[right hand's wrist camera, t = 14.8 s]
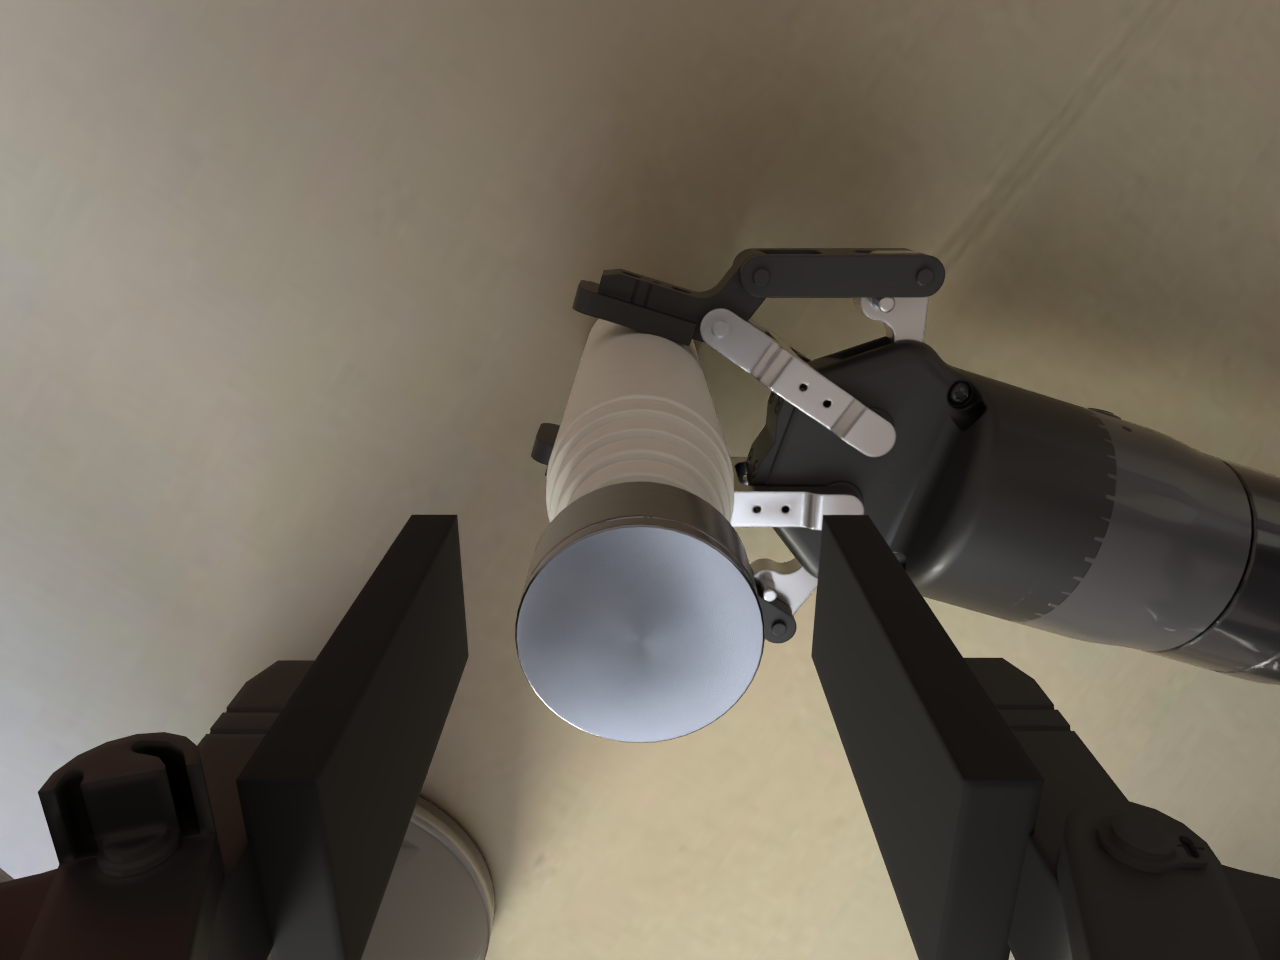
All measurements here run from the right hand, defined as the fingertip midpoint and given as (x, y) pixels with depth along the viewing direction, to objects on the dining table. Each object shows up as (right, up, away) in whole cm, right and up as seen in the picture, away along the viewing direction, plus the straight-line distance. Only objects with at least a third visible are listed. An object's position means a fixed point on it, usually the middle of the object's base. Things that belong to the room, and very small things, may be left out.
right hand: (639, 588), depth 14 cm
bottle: (0, +7, +18) cm, 20 cm away
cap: (0, 0, -1) cm, 1 cm away
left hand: (-3, +5, +12) cm, 14 cm away
